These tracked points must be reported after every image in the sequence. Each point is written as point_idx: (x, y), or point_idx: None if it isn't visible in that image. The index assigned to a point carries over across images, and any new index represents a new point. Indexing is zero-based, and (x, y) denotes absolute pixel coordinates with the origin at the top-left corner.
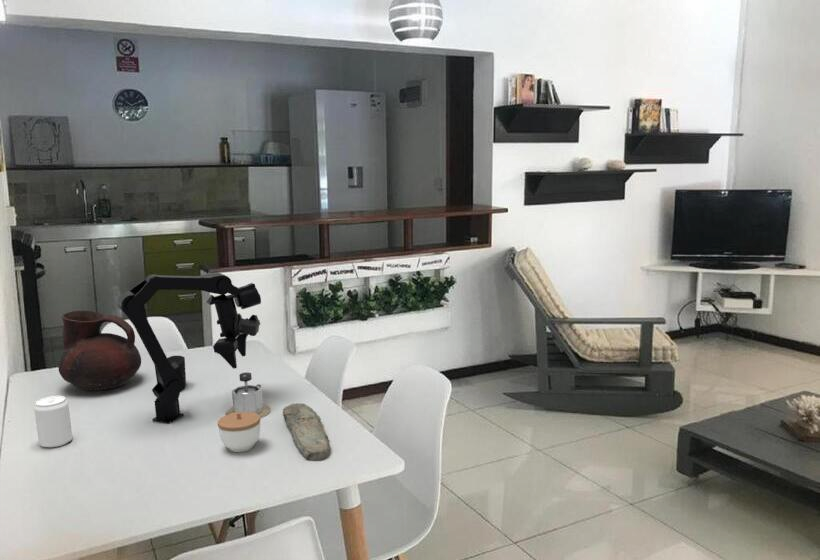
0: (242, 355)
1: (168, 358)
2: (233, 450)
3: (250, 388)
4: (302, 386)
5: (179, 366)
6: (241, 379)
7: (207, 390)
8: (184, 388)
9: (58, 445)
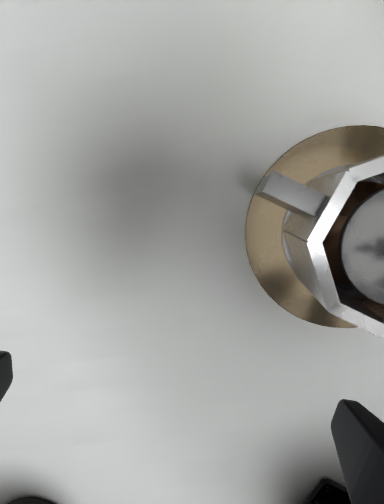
0: (4, 383)
1: None
2: None
3: (359, 227)
4: (36, 12)
5: None
6: None
7: (61, 422)
8: (40, 499)
9: None
